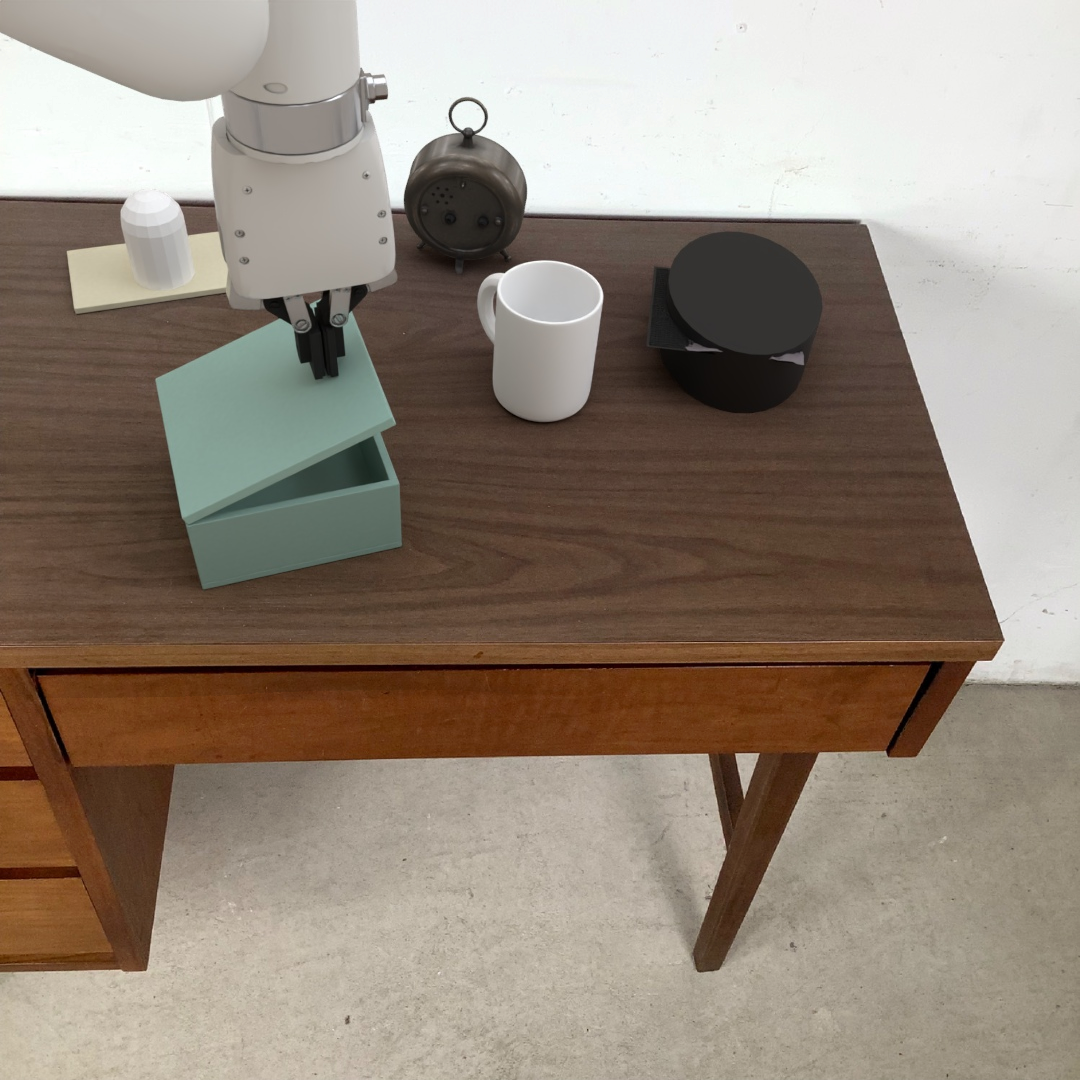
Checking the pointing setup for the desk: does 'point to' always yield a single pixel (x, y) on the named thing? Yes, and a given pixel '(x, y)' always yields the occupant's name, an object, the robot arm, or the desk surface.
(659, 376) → the desk surface
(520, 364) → the mug
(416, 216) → the alarm clock
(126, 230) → the capsule
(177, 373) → the lid
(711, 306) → the black round box
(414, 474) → the desk surface
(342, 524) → the mint green open box
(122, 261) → the mat
